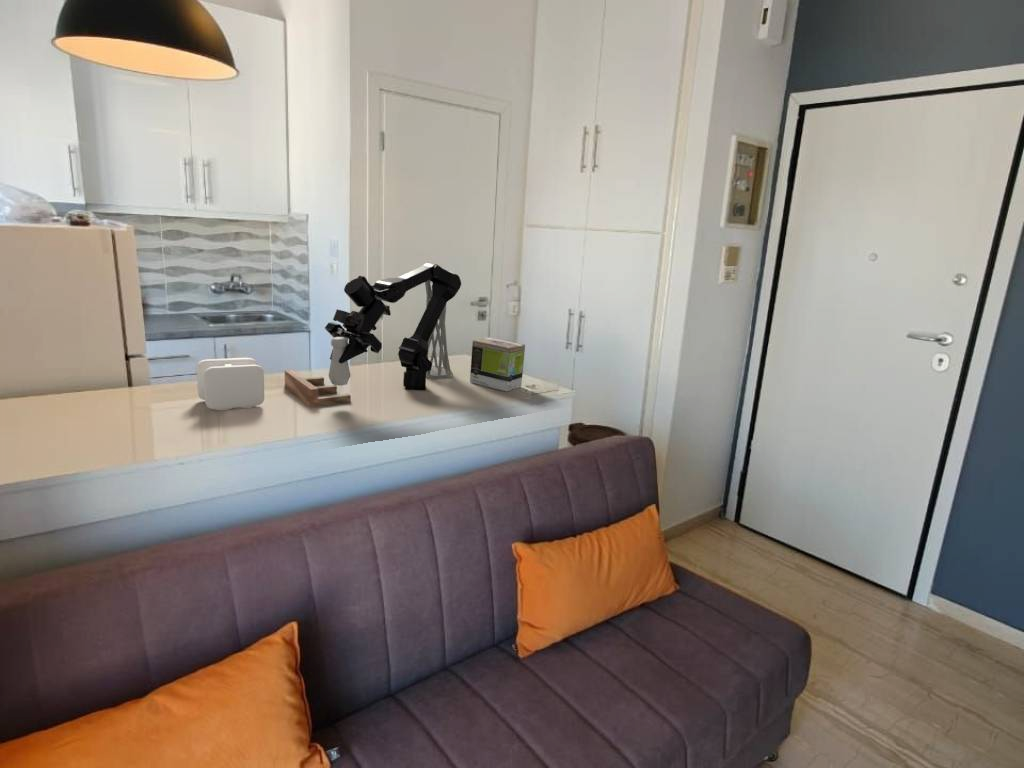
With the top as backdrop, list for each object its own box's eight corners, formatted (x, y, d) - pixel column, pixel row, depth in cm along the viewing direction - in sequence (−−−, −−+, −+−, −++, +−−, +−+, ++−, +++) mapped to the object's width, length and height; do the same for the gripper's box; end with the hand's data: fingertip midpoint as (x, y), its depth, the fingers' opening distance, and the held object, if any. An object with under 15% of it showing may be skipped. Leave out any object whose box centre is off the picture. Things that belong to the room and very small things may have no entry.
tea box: (522, 387, 207) (526, 344, 203) (505, 392, 198) (510, 348, 194) (485, 377, 214) (489, 335, 210) (468, 382, 206) (471, 339, 202)
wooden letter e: (322, 382, 190) (322, 367, 189) (350, 401, 175) (350, 385, 174) (284, 386, 183) (284, 370, 182) (310, 406, 168) (311, 389, 167)
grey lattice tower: (411, 367, 218) (416, 267, 208) (449, 368, 221) (456, 270, 211) (413, 377, 205) (419, 272, 196) (453, 379, 208) (460, 275, 199)
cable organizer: (202, 412, 157) (200, 368, 154) (197, 400, 165) (195, 358, 162) (264, 407, 165) (263, 365, 162) (257, 396, 173) (256, 356, 170)
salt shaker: (354, 383, 171) (355, 338, 167) (338, 388, 167) (338, 341, 163) (340, 379, 174) (340, 334, 170) (324, 383, 170) (323, 337, 166)
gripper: (330, 293, 172) (296, 337, 167) (374, 304, 161) (339, 351, 156) (352, 318, 180) (321, 360, 175) (396, 330, 170) (364, 375, 165)
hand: (335, 361), depth 168 cm, fingers closed on salt shaker, 3 cm apart
